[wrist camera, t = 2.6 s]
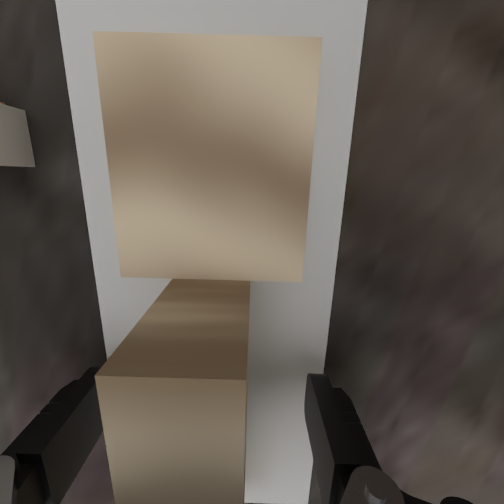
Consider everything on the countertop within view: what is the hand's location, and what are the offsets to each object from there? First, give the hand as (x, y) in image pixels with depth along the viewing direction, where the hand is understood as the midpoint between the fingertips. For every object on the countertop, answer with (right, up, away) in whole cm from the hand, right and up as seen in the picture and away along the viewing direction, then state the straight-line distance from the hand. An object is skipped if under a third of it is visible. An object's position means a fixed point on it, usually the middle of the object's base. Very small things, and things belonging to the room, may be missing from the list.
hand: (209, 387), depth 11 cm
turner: (0, +3, +1) cm, 3 cm away
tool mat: (0, +3, +1) cm, 3 cm away
